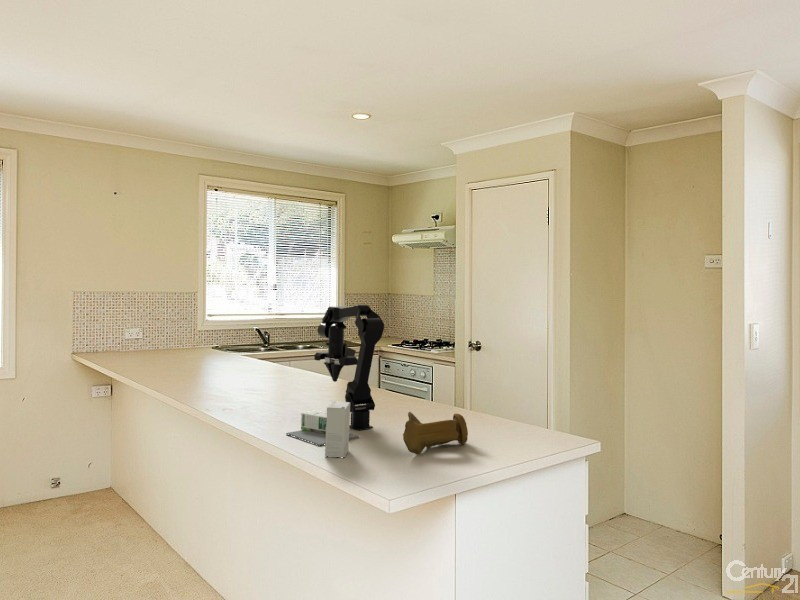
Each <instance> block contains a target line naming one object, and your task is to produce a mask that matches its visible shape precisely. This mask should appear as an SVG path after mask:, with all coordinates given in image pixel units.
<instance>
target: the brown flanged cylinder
mask: <svg viewBox="0 0 800 600" xmlns="http://www.w3.org/2000/svg"><path fill="white" fill-rule="evenodd" d="M407 417H408V420H406V422H405V424H404V425H405V426H404V431H403V433H402V439H403V442H404V444H405V446H406V448H407V450H408V452H410V453H413V454H415V455H421V453H423V451H424V450H425V448H426V449H430V448H431V447H435V446H441V445H445V444H448V443H450V442H454V441H456V442H458V443H459V445H460V444H461V446H462V445H463V446H464V444H466V443H467V441H468V435H469V432H468V431H469V430H468V427H467V422H466V419H465V418H464V416H463V415H462V414H460V413H454V414H453V415H452V419H446V420H438V421H432V422H424V423H422V422H421V421H420V420H419V419H418V417H417V416H416V415H415V414H413V413H412V411H408V413H407Z"/></svg>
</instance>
